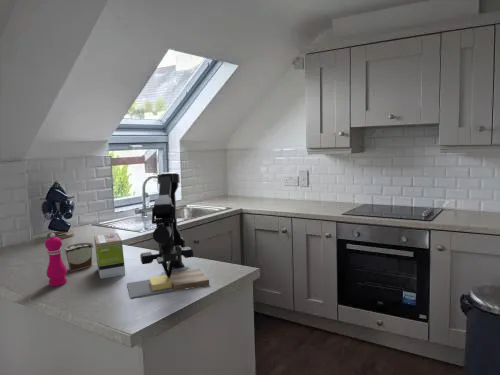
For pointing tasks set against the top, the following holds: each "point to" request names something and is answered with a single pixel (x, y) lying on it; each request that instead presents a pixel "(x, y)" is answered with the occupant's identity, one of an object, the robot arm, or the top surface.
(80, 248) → the food container
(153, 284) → the butter block
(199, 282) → the cutting block
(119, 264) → the tea box
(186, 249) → the robot arm
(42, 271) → the top surface
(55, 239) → the pepper mill
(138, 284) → the mat
